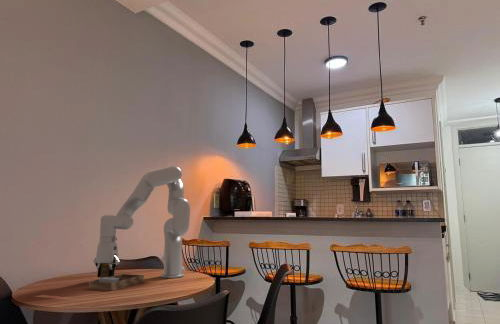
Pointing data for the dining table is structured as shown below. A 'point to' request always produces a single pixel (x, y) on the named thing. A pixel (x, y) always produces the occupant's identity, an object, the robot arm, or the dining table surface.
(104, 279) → the painted block
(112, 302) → the dining table surface
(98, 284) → the caddy
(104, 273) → the condiment
